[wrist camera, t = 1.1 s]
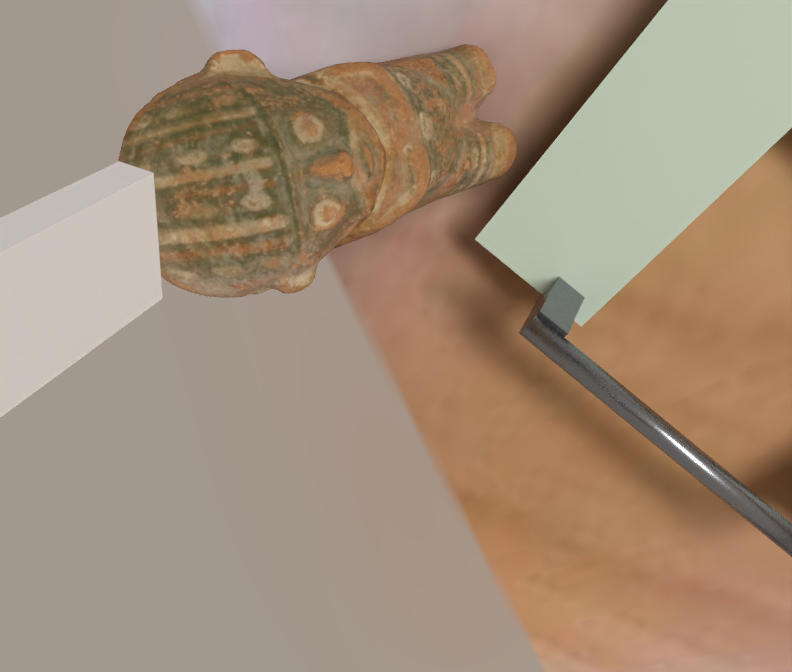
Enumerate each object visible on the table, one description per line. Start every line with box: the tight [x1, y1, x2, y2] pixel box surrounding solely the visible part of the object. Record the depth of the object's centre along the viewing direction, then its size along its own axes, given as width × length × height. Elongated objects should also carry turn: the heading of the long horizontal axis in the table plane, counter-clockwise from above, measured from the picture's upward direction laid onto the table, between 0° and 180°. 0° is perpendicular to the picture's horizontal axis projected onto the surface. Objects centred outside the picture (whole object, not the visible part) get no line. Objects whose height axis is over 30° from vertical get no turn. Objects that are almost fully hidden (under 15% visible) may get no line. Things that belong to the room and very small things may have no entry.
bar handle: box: [519, 277, 792, 557], centre depth 30 cm, size 16×1×4 cm, turn 58°
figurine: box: [118, 44, 517, 297], centre depth 27 cm, size 8×8×15 cm
